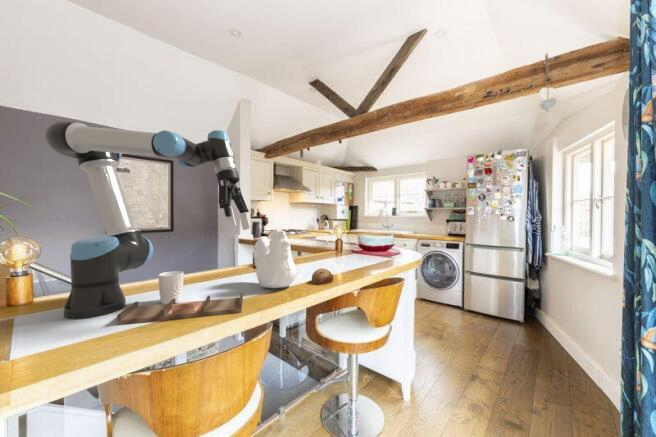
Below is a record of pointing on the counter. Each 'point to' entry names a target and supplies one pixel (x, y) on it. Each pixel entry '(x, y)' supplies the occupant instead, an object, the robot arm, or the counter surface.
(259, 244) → the decorative rooster
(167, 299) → the white cup
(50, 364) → the counter surface
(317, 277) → the bread roll
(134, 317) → the brown compartment tray
